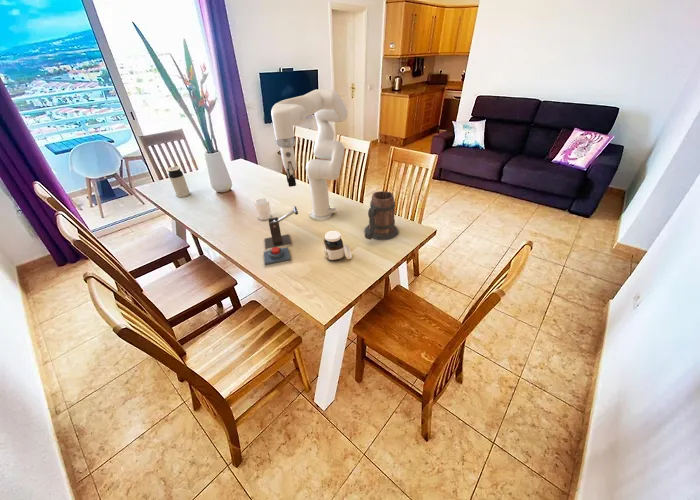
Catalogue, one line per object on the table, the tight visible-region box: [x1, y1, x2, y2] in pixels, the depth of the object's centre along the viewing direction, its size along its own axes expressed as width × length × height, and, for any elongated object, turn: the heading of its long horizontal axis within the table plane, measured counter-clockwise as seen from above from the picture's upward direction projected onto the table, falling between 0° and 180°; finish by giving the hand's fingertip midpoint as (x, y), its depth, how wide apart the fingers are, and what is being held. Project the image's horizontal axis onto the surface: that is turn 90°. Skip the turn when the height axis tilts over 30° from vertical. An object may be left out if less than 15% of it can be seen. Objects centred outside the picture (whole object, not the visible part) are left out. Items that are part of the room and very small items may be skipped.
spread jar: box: [323, 230, 353, 262], centre depth 131 cm, size 12×11×12 cm
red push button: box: [270, 246, 280, 254], centre depth 132 cm, size 4×4×2 cm
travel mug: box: [166, 165, 191, 198], centre depth 190 cm, size 8×8×18 cm
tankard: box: [364, 190, 399, 241], centre depth 144 cm, size 24×17×20 cm
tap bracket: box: [264, 216, 292, 249], centre depth 141 cm, size 12×9×13 cm
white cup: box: [253, 197, 272, 221], centre depth 164 cm, size 8×8×10 cm
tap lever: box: [271, 205, 299, 223], centre depth 139 cm, size 14×6×2 cm, turn 106°
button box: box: [263, 247, 291, 266], centre depth 133 cm, size 11×9×4 cm
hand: (291, 183), depth 131 cm, fingers open, 4 cm apart
